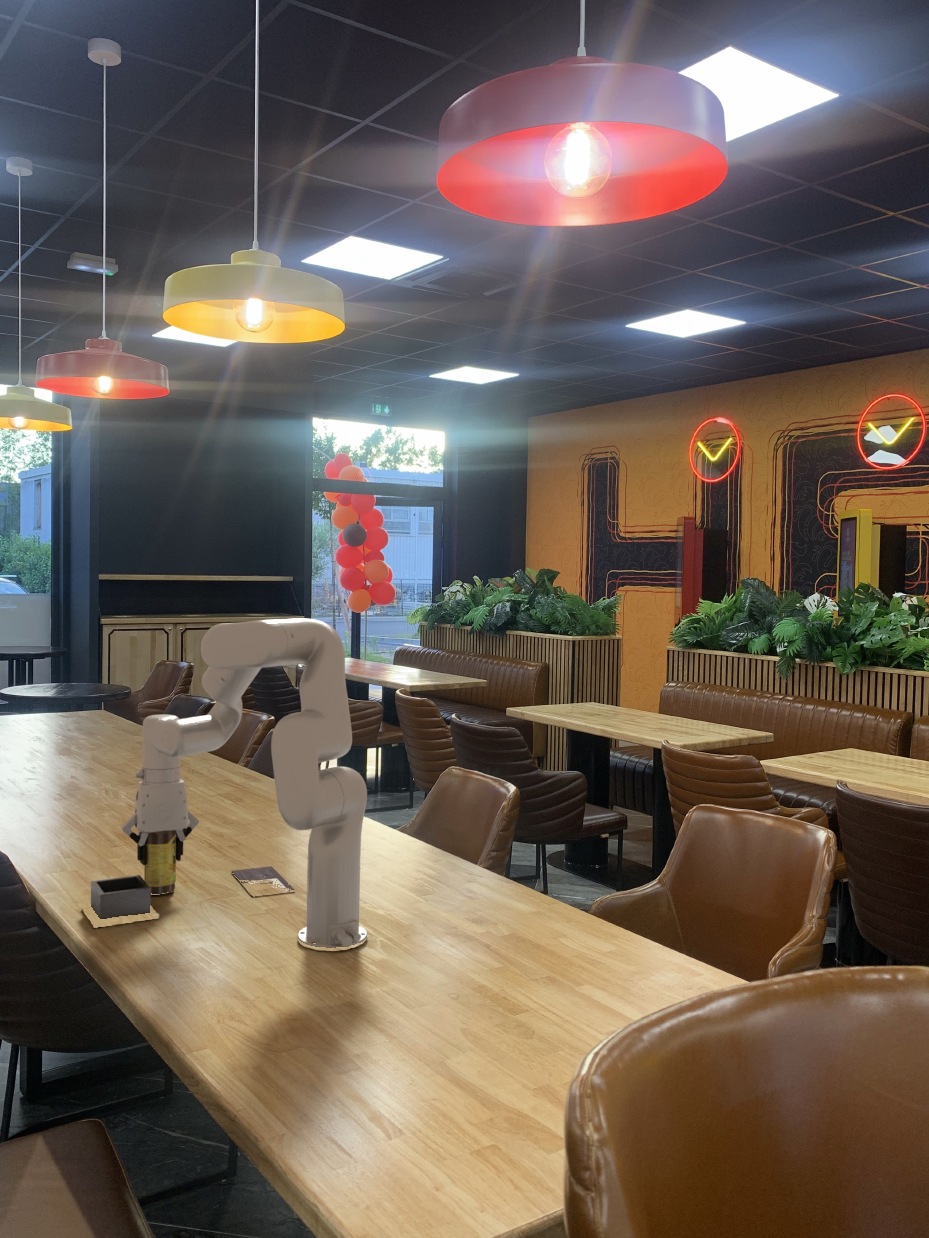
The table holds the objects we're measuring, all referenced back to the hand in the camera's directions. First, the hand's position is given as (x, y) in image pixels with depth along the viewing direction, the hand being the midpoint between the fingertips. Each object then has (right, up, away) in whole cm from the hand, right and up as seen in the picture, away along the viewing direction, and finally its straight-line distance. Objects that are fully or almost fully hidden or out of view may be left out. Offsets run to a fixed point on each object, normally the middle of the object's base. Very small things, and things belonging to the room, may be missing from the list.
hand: (160, 860), depth 207 cm
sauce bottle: (0, -7, 0) cm, 7 cm away
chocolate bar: (+19, -7, +8) cm, 22 cm away
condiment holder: (-4, -7, -13) cm, 16 cm away
